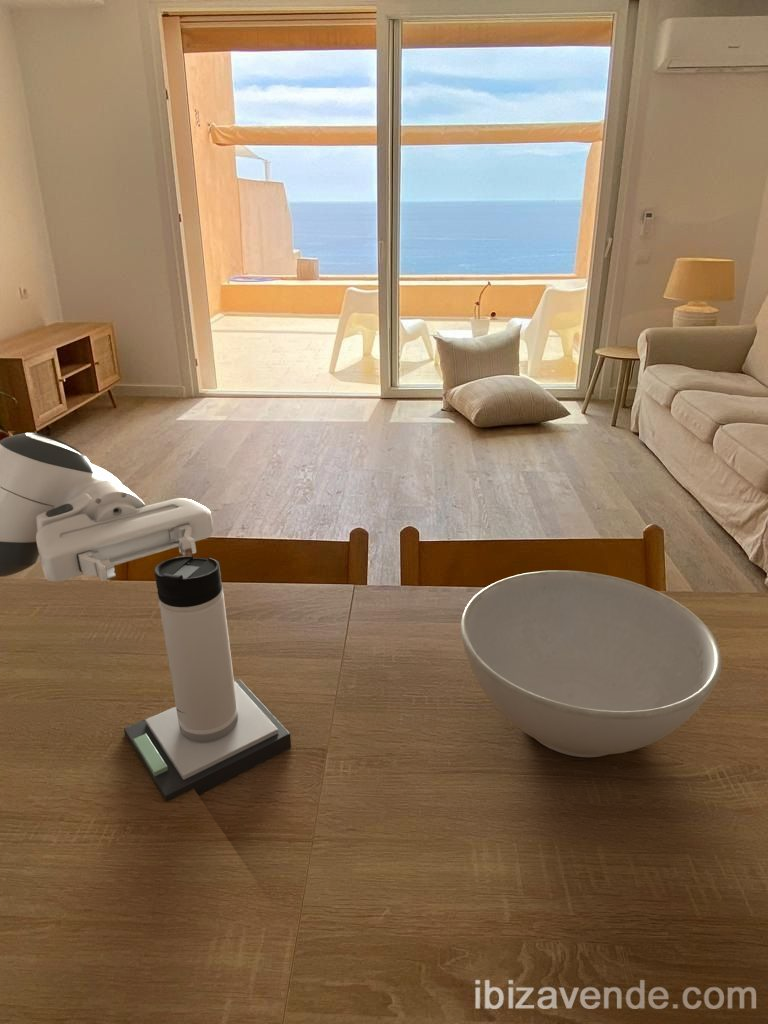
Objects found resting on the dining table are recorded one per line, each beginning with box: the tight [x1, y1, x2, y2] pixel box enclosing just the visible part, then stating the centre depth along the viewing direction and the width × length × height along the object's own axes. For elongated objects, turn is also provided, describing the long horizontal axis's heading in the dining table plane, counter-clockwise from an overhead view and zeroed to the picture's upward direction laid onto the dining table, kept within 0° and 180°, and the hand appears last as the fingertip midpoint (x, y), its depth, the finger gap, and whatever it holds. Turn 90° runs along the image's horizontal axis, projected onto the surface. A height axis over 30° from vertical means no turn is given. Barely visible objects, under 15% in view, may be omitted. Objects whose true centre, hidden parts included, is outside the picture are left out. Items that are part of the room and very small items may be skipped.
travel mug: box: [153, 555, 238, 742], centre depth 71 cm, size 6×7×20 cm
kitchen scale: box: [123, 679, 292, 803], centre depth 76 cm, size 14×12×3 cm
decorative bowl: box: [460, 570, 723, 758], centre depth 77 cm, size 27×27×12 cm
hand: (150, 561), depth 79 cm, fingers open, 8 cm apart
